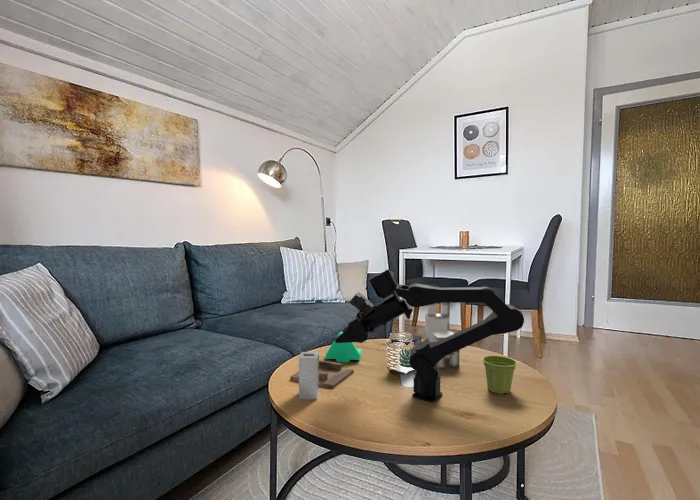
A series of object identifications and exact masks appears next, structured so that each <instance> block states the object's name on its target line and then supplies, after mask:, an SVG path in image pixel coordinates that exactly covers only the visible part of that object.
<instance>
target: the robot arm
mask: <svg viewBox="0 0 700 500" xmlns="http://www.w3.org/2000/svg"><path fill="white" fill-rule="evenodd" d="M367 282H368V283H369V285H370V288H371V289H372V291H373V293H374V294H375V296H376V297H377V298H380V299H382V300H383V301H381V302H375V303H372V302H371V301H370V300H369V299H368V298H367V297H366V296H364V294H362V293H361V292H360V291H358V292H356V293H355V295H353V297H352V298H351V299H350V301H349V304H350V305H351V306H354V308H356V309H357V310H358V311H357V313H356V316H355V318H353V319H351V320H350V321H349V322H348V324H347V325H348V326H345V328H344V329H343V330H342V332H343V333H342V334H341V335H340V336H338V335H337V336H338V337H337V336H336V337H337V338H336V337H335V339H334V341H335V342H336V343H349V342H353V343H358V344H363V343H364V342H366V341H367V340H368V339H369V336H370V333H374V331H375V330H376V329H378V328H380V327H381V326H386V325H387V324H388V323H389V322H391V321H392V320H395V319H396V318H398V317H401V316H402V315H405V317H406V318H407V320H410V319H411V315H412V313H413V312H414V309H413V308H421V307H426V306H428V305H431V304H435V303H436V304H441V303H450V304H451V303H452V304H454V303H455V304H456V303H462V304H463V303H468V304H469V303H470V304H471V303H472V304H473V303H476V304H478V303H481V304H482V303H483V304H485V305H486V306H487V307H488V308H489V309H490V310H491V311H492V312H491V313H490V314H488V315H487V317H486V318H484V319H483V320H480V321H479V322H477V323H475V324H472V325H470V326H468V327H466V328H464V329H462V330H460V331H457V332H454V334H453V335H451V336H448V337H446V338H444V339H442V340H440V341H437V342H430V340H429V337H427V338H425V339H424V340H423V341H422V340H421V342H420V343H416V346H415V347H413V349H412V351H411V355H410V365H411V367H412V368H413V369H414V370H413V371H416V372H415V373H414V377H413V390H412V391H413V393H412V397H413V398H416V399H420V400H423V401H426V402H430V403H434V402H436V401H438V399H439V398H441V396H443V392H441V374H440V372H439V371H440V370H439V369H440V367H438V362H439V361H440V360H441V359H442V358H443V357H445V356H447V355H449V354H451V353H453V352H456V351H458V350H460V351H461V350H463V349H464V348H466V347H469V346H472V345H474V344H475V343H478V342H479V341H482V340H484V339H487V338H489V337H491V336H493V335H502V334H503V335H504V334H508V333H511V332H512V333H513V332H517V331H518V330H520V329H522V328H523V326H524V323H525V317H524V314H523V313H522V311H520V310H519V309H518V308H517V307H515V306H514V305H512V304H506V303H505V302H504V301H503V300H502V299H501V298H500V297H498V295H496V294H495V292H494V291H493V289H491V288H490V287H488V286H480V287H479V286H478V287H474V286H472V287H471V286H470V287H437V286H432V285H429V284H421V283H411V284H410V285H405V284H399V283H397V282H396V280H395V279H394V277H393V275H392V272H391V270H390V269H386V270H384V271H383V272H379V273H377V274H376V275H373V276H372V277H370V278H369V279H367ZM391 295H392V296H391ZM386 298H387V299H386ZM408 305H409V306H410V307H409V306H408Z"/></svg>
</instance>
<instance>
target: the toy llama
mask: <svg viewBox="0 0 700 500" xmlns="http://www.w3.org/2000/svg"><path fill="white" fill-rule="evenodd" d="M450 305H451V303H440V313H437V303H435V304H431V305H427V312H426V313H425V315H424V316H425V317H424V320H425V321H424V322H425V325H424V329H425V330H424V331H425V332H424V334H425V335H426V336H427V338H429V340H430V342H437V341H440V340H442V339H444V338H446V337H448V336H451V335H453V334H455V332H453V331H451V330H450V321H451V320H450V318H451V317H450V313H451V312H450V311H451V309H450V308H451V307H450ZM460 351H461V349H460V350H458V351H456V352H453V353H451V354H449V355H447V356H445V357H443V358H442V359H441V360H440V361H439V362H438V368H445V367H446V360H449V366H450V367H452V368H458V367H460V353H461V352H460ZM445 359H446V360H445Z"/></svg>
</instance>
